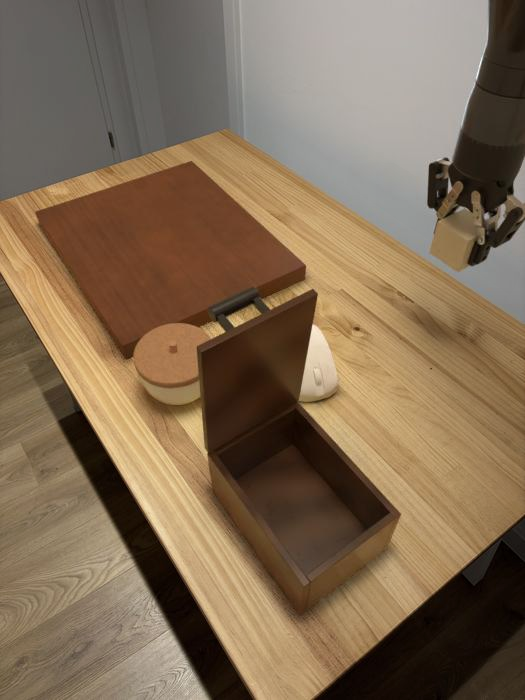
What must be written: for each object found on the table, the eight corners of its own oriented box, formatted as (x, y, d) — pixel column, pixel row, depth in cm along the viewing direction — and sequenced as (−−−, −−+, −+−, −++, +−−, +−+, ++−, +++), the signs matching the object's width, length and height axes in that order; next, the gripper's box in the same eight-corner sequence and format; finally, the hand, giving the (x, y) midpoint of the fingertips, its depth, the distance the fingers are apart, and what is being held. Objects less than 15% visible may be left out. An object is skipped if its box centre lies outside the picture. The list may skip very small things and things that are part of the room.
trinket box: (207, 351, 83) (202, 306, 76) (227, 406, 76) (223, 362, 69) (136, 369, 81) (124, 324, 74) (150, 427, 74) (138, 384, 67)
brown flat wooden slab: (193, 173, 116) (39, 225, 104) (191, 160, 114) (34, 211, 102) (305, 279, 94) (126, 359, 82) (306, 265, 92) (122, 345, 80)
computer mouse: (297, 407, 76) (299, 379, 71) (271, 340, 84) (271, 311, 80) (341, 397, 77) (346, 368, 72) (311, 332, 86) (313, 303, 81)
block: (454, 239, 75) (464, 207, 72) (483, 258, 73) (495, 226, 69) (429, 252, 73) (437, 221, 70) (457, 272, 71) (468, 240, 67)
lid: (318, 293, 51) (284, 259, 54) (200, 352, 46) (169, 311, 49) (299, 400, 65) (272, 369, 68) (208, 453, 61) (183, 418, 63)
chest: (387, 548, 63) (401, 514, 56) (299, 615, 58) (303, 587, 52) (294, 440, 73) (296, 400, 66) (212, 490, 68) (206, 453, 61)
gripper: (576, 143, 57) (520, 270, 70) (469, 94, 65) (436, 216, 78) (530, 164, 55) (481, 293, 67) (424, 111, 62) (397, 235, 75)
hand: (457, 251), depth 73 cm, fingers closed on block, 5 cm apart
